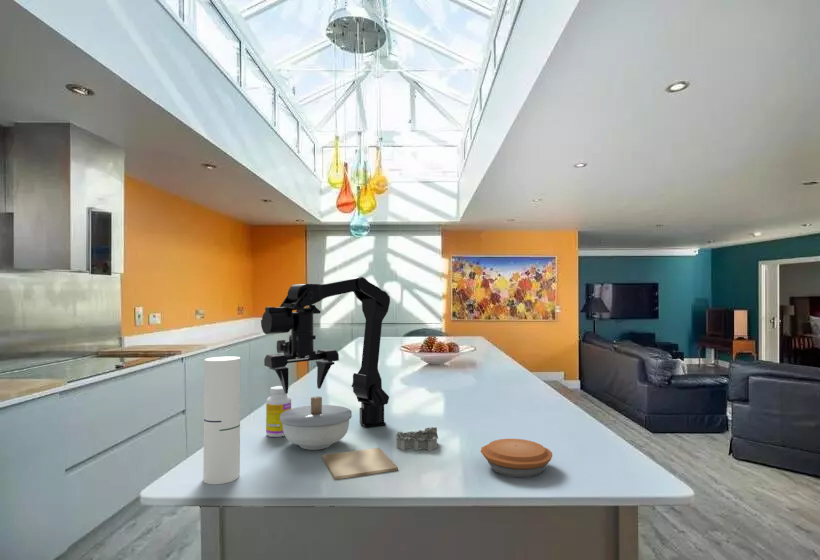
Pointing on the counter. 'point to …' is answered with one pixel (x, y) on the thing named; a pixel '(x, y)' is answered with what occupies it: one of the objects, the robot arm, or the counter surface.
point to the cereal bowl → (315, 435)
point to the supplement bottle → (276, 411)
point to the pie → (516, 457)
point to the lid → (315, 415)
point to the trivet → (358, 463)
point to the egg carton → (418, 439)
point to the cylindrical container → (221, 419)
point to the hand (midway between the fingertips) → (302, 390)
